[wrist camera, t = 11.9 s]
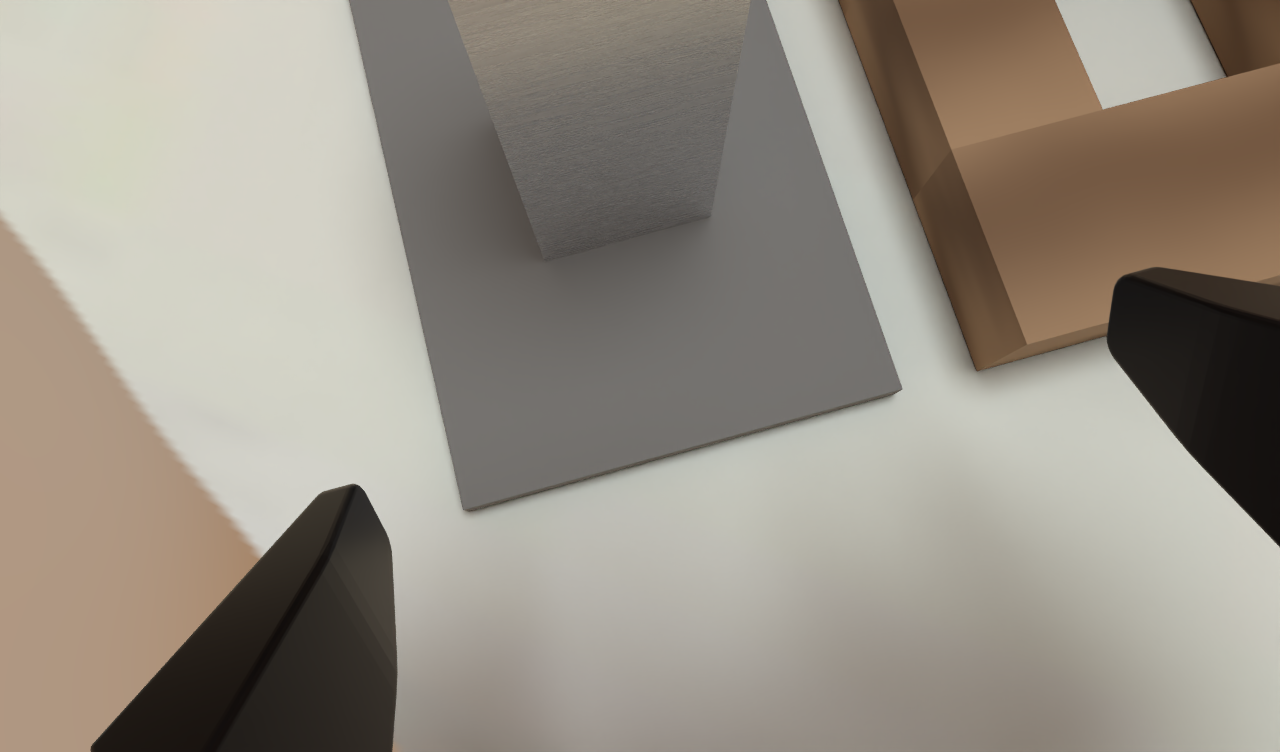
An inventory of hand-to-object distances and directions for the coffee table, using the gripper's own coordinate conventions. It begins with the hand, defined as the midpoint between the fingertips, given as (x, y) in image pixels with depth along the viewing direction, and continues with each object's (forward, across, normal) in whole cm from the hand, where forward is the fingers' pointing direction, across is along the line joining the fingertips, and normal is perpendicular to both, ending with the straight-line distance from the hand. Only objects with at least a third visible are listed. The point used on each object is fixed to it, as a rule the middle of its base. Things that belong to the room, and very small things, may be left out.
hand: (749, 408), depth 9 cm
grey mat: (+12, 0, +1) cm, 12 cm away
